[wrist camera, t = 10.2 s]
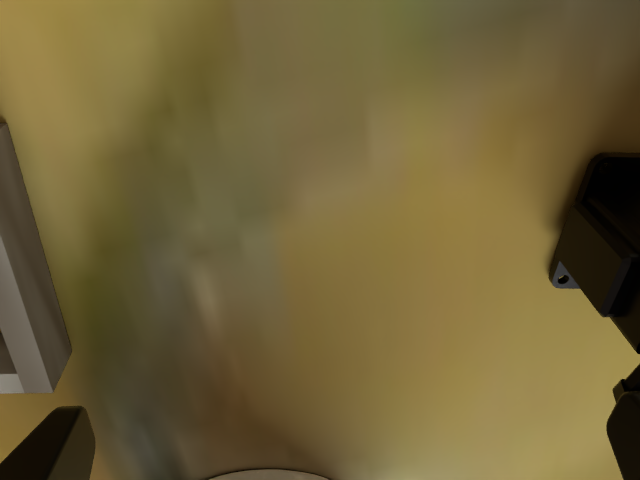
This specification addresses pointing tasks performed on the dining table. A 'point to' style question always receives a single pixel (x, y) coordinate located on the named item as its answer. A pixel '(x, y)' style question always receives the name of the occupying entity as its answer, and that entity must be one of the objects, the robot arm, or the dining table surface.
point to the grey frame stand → (25, 291)
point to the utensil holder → (269, 475)
